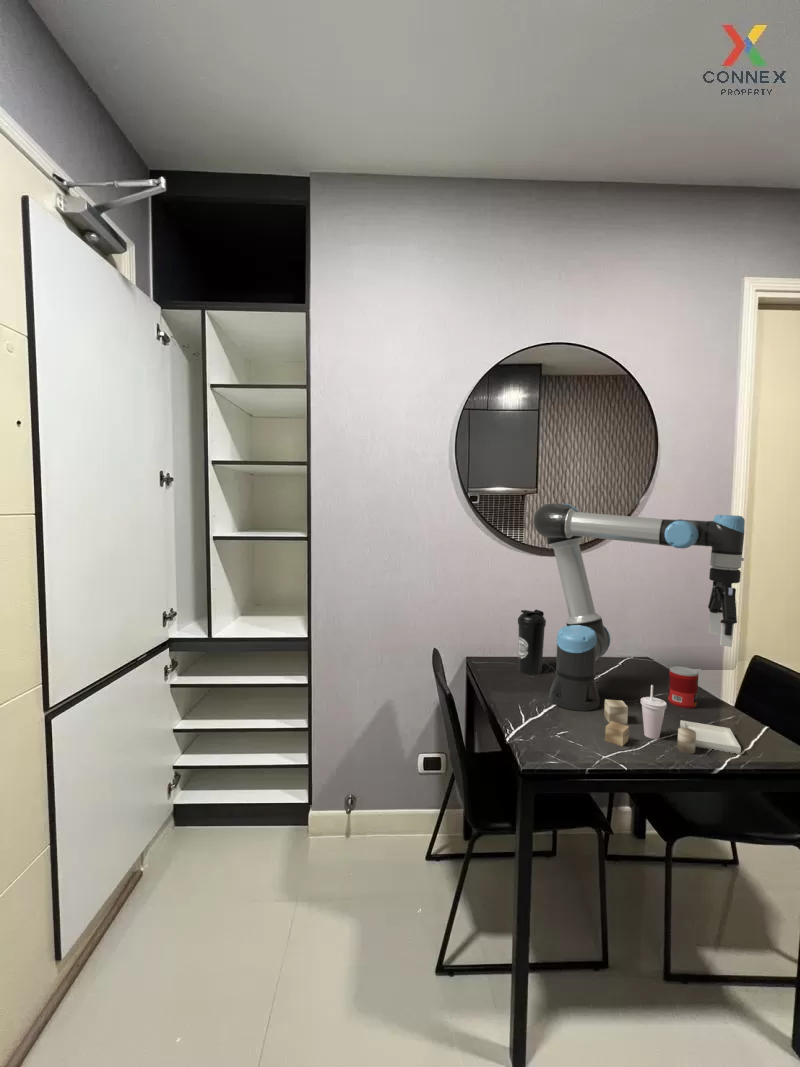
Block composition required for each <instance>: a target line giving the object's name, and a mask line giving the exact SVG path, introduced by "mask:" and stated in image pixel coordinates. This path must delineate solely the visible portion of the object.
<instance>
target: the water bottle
mask: <svg viewBox="0 0 800 1067" xmlns="http://www.w3.org/2000/svg"><path fill="white" fill-rule="evenodd" d="M520 613H521V614H520V615H519V617H518V618H517V624H518V671H519V672H520V673H522V674H526V675H532V676H533V675H540V674H542V670H543V669H542V668H543V655H544V645H545V644H544V642H545V640H544V639H545V627H546V624H547V621H546V618H545V616H544V614H545V613H544V612H543V611H542V610H539V609H534V611H533V610H526V609H522V610H520Z"/></svg>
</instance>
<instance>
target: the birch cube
mask: <svg viewBox="0 0 800 1067" xmlns="http://www.w3.org/2000/svg"><path fill="white" fill-rule="evenodd" d="M603 710H604V712H603V713H604V714H603V716H604V717H605V719H606V721H607V722H608V724H609V723H610V722H611V721H613V722H616V723H620V724H623V725H628V713H629V711H628V710H629V707H628V705H627V704H626V703H625V702H624V701H623V700H619V699H618V700H617V699H606V698H605V699H604V709H603Z"/></svg>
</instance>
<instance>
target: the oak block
mask: <svg viewBox="0 0 800 1067" xmlns="http://www.w3.org/2000/svg"><path fill="white" fill-rule="evenodd" d="M629 728H630V726H629V725H627V724H620V723H616V722H613V721H611V722H610V723H609V722H608V724H607V725H605V734H604V735H605V736H604V741H606V742H609V743H611V744H613V745H617V746H621V747H624V745H626V744H627V742H628V741H629V733H630V732H629V730H630V729H629Z"/></svg>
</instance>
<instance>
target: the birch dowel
mask: <svg viewBox="0 0 800 1067" xmlns="http://www.w3.org/2000/svg"><path fill="white" fill-rule="evenodd" d="M695 745H696V732H695V731H694V730H692V729H689V728H680V727H679V728H677V746H676V747H677V748H676V749H677V750H678V751H679V752H681V753H683V754H687V753H689V755H694V754H695V753H696V747H695ZM693 753H694V754H693Z"/></svg>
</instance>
